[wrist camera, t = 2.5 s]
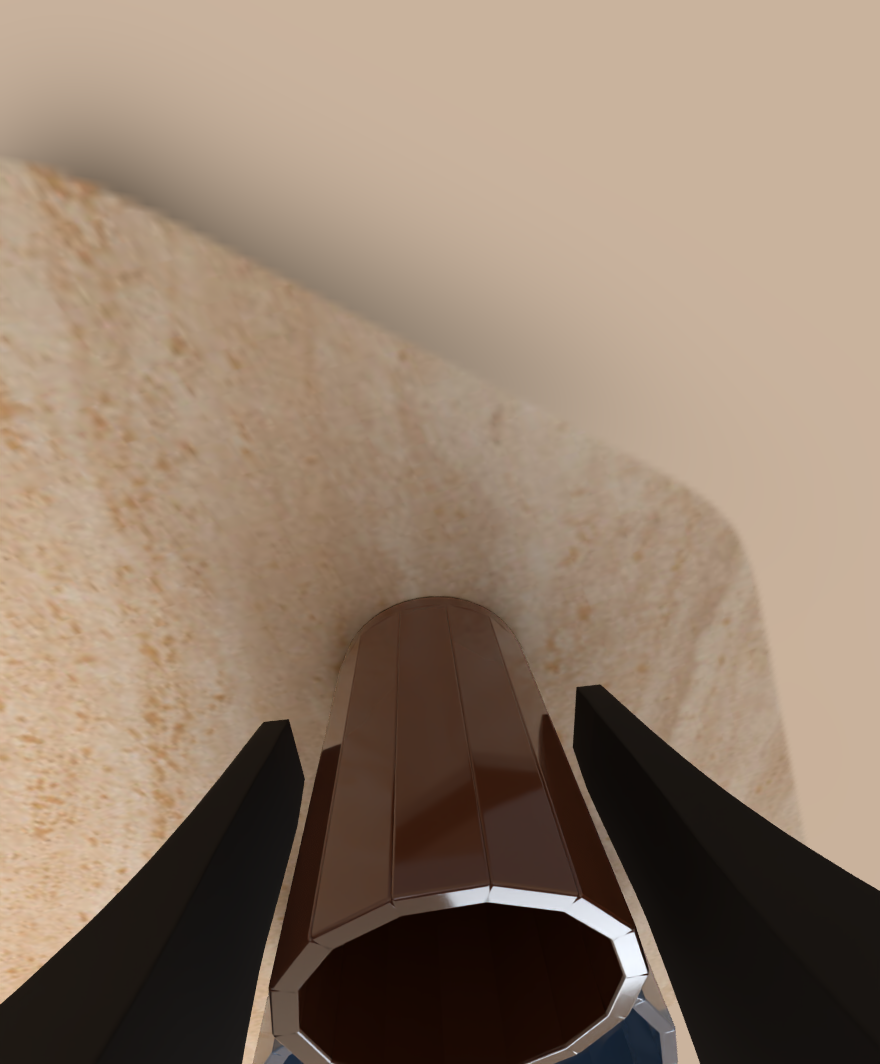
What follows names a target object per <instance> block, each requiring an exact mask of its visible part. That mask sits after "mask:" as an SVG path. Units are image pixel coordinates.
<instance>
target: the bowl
mask: <svg viewBox="0 0 880 1064" xmlns="http://www.w3.org/2000/svg"><path fill="white" fill-rule="evenodd" d="M643 951H644V950H643ZM644 954H645V952H644ZM645 957H646V955H645ZM646 960H647V957H646ZM647 963H648V966H649V975H648V977H647V979H646V981H645V983H644V985H643V987H642V989H641V991H640V993H639V995H638V997H637V999H636V1001H635V1003H634V1005H633V1007H632V1009H631V1011H630V1013H629V1015H628V1016H626V1018H625V1019H624V1020H622V1021H621V1022H620V1023H618V1024H617V1025H616V1026H615V1027H613V1028H612V1029H611V1030H609V1031H608V1032H607V1033H605V1034H604V1035H603V1036H601V1037H600V1038H599V1039H597V1040H596V1041H595V1042H594V1043H592V1044H591V1045H590V1046H588V1047H587V1048H586V1049H584V1050H583V1051H582V1052H580V1053H579V1052H578V1054H577V1055H575V1056H572V1057H570V1058H567V1059H565V1060H562V1061H559V1062H557V1063H554V1064H677V1062H678V1058H677V1044H676V1031H675V1026H674V1023H673V1021H672V1018H671V1016H670V1014H669V1011H668V1009H667V1006H666V1004H665V1001H664V999H663V996H662V994H661V991H660V989H659V987H658V984H657V982H656V979H655V977H654V974H653V972H652V969H651V967H650V964H649V962H648V960H647ZM268 995H269V993H268ZM253 1064H304V1063H302V1062H301V1061H300V1060H299V1059H298V1058H297V1057H296V1056H295V1055H293V1054H292V1053H291V1052H290V1051H289V1050H288V1049H287V1048H286V1047H284V1046H283V1045H282V1044H281V1043H280V1042H279V1041H278V1040H277V1039H275V1038H274V1035H273V1034H272V1025H271V1012H270V999H269V996H268V997H267V1002H266V1006H265V1011H264V1015H263V1020H262V1024H261V1029H260V1033H259V1038H258V1042H257V1047H256V1051H255V1056H254V1060H253Z"/></svg>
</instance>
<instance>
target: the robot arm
mask: <svg viewBox="0 0 880 1064" xmlns="http://www.w3.org/2000/svg"><path fill="white" fill-rule="evenodd" d="M573 749H574V752H575V755H576V758H577V761H578V764H579V767H580V770H581V773H582V776H583V779H584V781H585V784H586V787H587V790H588V792H589V794H590V796H591V799H592V801H593V803H594V805H595V807H596V810H597V812H598V814H599V816H600V818H601V820H602V823H603V825H604V827H605V829H606V831H607V833H608V835H609V837H610V840H611V842H612V844H613V846H614V848H615V850H616V852H617V854H618V857H619V859H620V861H621V863H622V865H623V867H624V869H625V872H626V874H627V876H628V878H629V880H630V882H631V884H632V886H633V889H634V891H635V893H636V895H637V897H638V900H639V902H640V904H641V907H642V909H643V911H644V914H645V916H646V918H647V921H648V923H649V926H650V929H651V931H652V934H653V936H654V939H655V942H656V944H657V947H658V950H659V952H660V955H661V958H662V960H663V963H664V965H665V968H666V971H667V973H668V976H669V979H670V981H671V984H672V987H673V990H674V992H675V995H676V998H677V1001H678V1003H679V1006H680V1009H681V1012H682V1014H683V1017H684V1020H685V1023H686V1025H687V1028H688V1031H689V1034H690V1036H691V1039H692V1042H693V1045H694V1047H695V1050H696V1053H697V1056H698V1059H699V1061H700V1064H880V891H879V890H877V889H876V888H874V887H872V886H871V885H869V884H867V883H865V882H864V881H862V880H860V879H859V878H857V877H855V876H853V875H852V874H850V873H849V872H847V871H845V870H844V869H842V868H841V867H839V866H837V865H836V864H834V863H832V862H831V861H829V860H828V859H826V858H824V857H823V856H821V855H820V854H818V853H816V852H815V851H813V850H812V849H810V848H808V847H807V846H805V845H804V844H802V843H800V842H799V841H797V840H796V839H794V838H793V837H791V836H790V835H788V834H787V833H785V832H784V831H782V830H781V829H779V828H778V827H776V826H775V825H773V824H772V823H771V822H769V821H768V820H766V819H765V818H763V817H762V816H760V815H759V814H758V813H756V812H755V811H753V810H752V809H750V808H749V807H747V806H746V805H745V804H743V803H742V802H740V801H739V800H738V799H736V798H735V797H734V796H732V795H731V794H729V793H728V792H727V791H725V790H724V789H723V788H721V787H720V786H719V785H718V784H716V783H715V782H714V781H712V780H711V779H710V778H709V777H707V776H706V775H705V774H703V773H702V772H701V771H699V770H698V769H697V768H696V767H695V766H693V765H692V764H691V763H690V762H688V761H687V760H686V759H685V758H683V757H682V756H681V755H680V754H679V753H678V752H676V751H675V750H674V749H673V748H672V747H670V746H669V745H668V744H667V743H666V742H664V741H663V740H662V739H661V738H660V737H659V736H657V735H656V734H655V733H654V732H653V731H652V730H651V729H649V728H648V727H647V726H646V725H645V724H644V723H643V722H641V721H640V720H639V719H638V718H637V717H636V716H635V715H634V714H633V713H631V712H630V711H629V710H628V709H627V708H626V707H625V706H624V705H623V704H621V703H620V702H619V701H618V700H617V699H616V698H615V697H614V696H613V695H612V694H610V693H609V692H608V691H607V690H606V689H605V688H604V687H603V686H601V685H591V686H583V687H577V689H576V705H575V721H574V737H573ZM304 780H305V778H304V774H303V771H302V767H301V763H300V759H299V756H298V752H297V748H296V744H295V741H294V737H293V733H292V729H291V726H290V722H289V719H287V720H278V721H269V722H263V724H262V725H261V726H260V727H259V728H258V730H257V731H256V732H255V733H254V735H253V736H252V737H251V738H250V740H249V741H248V742H247V744H246V745H245V746H244V747H243V749H242V750H241V751H240V753H239V754H238V755H237V756H236V758H235V759H234V760H233V762H232V763H231V764H230V765H229V767H228V768H227V769H226V770H225V772H224V773H223V774H222V776H221V777H220V778H219V779H218V780H217V782H216V783H215V784H214V785H213V787H212V788H211V789H210V790H209V792H208V793H207V794H206V795H205V796H204V798H203V799H202V800H201V801H200V803H199V804H198V805H197V806H196V807H195V809H194V810H193V811H192V812H191V813H190V815H189V816H188V817H187V818H186V819H185V820H184V822H183V823H182V824H181V825H180V826H179V827H178V828H177V830H176V831H175V832H174V833H173V834H172V835H171V836H170V838H169V839H168V840H167V841H166V842H165V843H164V844H163V845H162V847H161V848H160V849H159V850H158V851H157V852H156V853H155V855H154V856H153V857H152V858H151V859H150V860H149V861H148V862H147V863H146V864H145V865H144V867H143V868H142V869H141V870H140V871H139V872H138V873H137V874H136V875H135V876H134V877H133V878H132V879H131V880H130V881H129V883H128V884H127V885H126V886H125V887H124V888H123V889H122V890H121V891H120V892H119V893H118V894H117V895H116V896H115V897H114V898H113V899H112V900H111V901H110V902H109V903H108V904H107V905H106V906H105V907H104V908H103V909H102V910H101V911H100V912H99V913H98V914H97V915H96V916H95V917H94V918H93V919H92V920H91V921H90V922H89V923H88V924H87V925H86V926H85V927H84V928H83V929H82V930H81V931H80V932H79V933H77V934H76V935H75V936H74V937H73V938H72V939H71V940H70V941H69V942H68V943H67V944H66V945H65V946H64V947H63V948H61V949H60V950H59V951H58V952H57V953H56V954H55V955H54V956H53V957H52V958H51V959H50V960H49V961H48V962H47V963H45V964H44V965H43V966H42V967H41V968H40V969H39V970H38V971H37V972H36V973H35V974H34V975H33V976H32V977H31V978H29V979H28V980H27V981H26V982H25V983H24V984H23V985H22V986H21V987H20V988H18V989H17V990H16V991H15V992H14V993H13V994H12V995H11V996H9V997H8V998H7V999H6V1000H5V1001H4V1002H3V1003H1V1004H0V1064H242V1060H243V1054H244V1049H245V1043H246V1037H247V1032H248V1027H249V1022H250V1017H251V1011H252V1006H253V1001H254V996H255V990H256V985H257V980H258V975H259V970H260V966H261V962H262V958H263V953H264V949H265V945H266V941H267V937H268V934H269V930H270V926H271V923H272V919H273V915H274V912H275V908H276V904H277V900H278V897H279V893H280V889H281V886H282V882H283V878H284V875H285V871H286V867H287V863H288V860H289V856H290V852H291V848H292V844H293V841H294V837H295V833H296V829H297V825H298V819H299V813H300V807H301V801H302V794H303V787H304Z"/></svg>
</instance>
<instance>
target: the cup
mask: <svg viewBox="0 0 880 1064" xmlns="http://www.w3.org/2000/svg"><path fill="white" fill-rule="evenodd" d="M648 975H649V966H648V963H647V960H646V957H645V954H644V951H643V947H642V944H641V941H640V938H639V935H638V932H637V929H636V926H635V923H634V921H633V918H632V916H631V914H630V911H629V909H628V906H627V904H626V901H625V899H624V896H623V894H622V892H621V889H620V887H619V884H618V882H617V879H616V877H615V875H614V872H613V870H612V867H611V865H610V862H609V860H608V857H607V855H606V853H605V850H604V848H603V845H602V843H601V840H600V838H599V836H598V833H597V831H596V828H595V826H594V823H593V821H592V819H591V816H590V814H589V811H588V809H587V806H586V804H585V801H584V799H583V797H582V794H581V792H580V789H579V787H578V784H577V782H576V780H575V777H574V775H573V772H572V770H571V767H570V765H569V762H568V760H567V758H566V755H565V753H564V750H563V748H562V745H561V743H560V741H559V738H558V736H557V733H556V731H555V728H554V726H553V723H552V721H551V719H550V716H549V714H548V711H547V709H546V706H545V704H544V702H543V699H542V697H541V694H540V692H539V689H538V687H537V684H536V682H535V680H534V677H533V675H532V672H531V670H530V667H529V665H528V663H527V660H526V658H525V655H524V653H523V650H522V648H521V646H520V643H519V642H518V640H517V639H516V637H515V635H514V633H513V632H512V631H511V629H510V628H509V627H508V626H507V624H505V623H504V622H503V621H502V620H501V619H500V618H499V617H498V616H496V615H495V614H494V613H492V612H491V611H489V610H487V609H485V608H483V607H482V606H480V605H477V604H474V603H472V602H469V601H465V600H461V599H457V598H449V597H427V598H418V599H414V600H410V601H406V602H403V603H400V604H397V605H395V606H393V607H391V608H389V609H387V610H385V611H383V612H381V613H380V614H378V615H377V616H375V617H374V618H372V619H371V620H370V621H369V622H368V623H367V624H366V625H364V626H363V628H362V629H361V630H360V631H359V632H358V633H357V634H356V636H355V637H354V639H353V641H352V642H351V644H350V646H349V648H348V650H347V652H346V655H345V659H344V662H343V663H342V665H341V668H340V671H339V676H338V680H337V685H336V689H335V693H334V698H333V702H332V707H331V711H330V716H329V720H328V725H327V729H326V734H325V738H324V743H323V747H322V751H321V756H320V760H319V765H318V769H317V774H316V778H315V783H314V787H313V792H312V796H311V801H310V805H309V809H308V814H307V818H306V823H305V827H304V832H303V836H302V841H301V845H300V850H299V854H298V859H297V863H296V867H295V872H294V876H293V881H292V885H291V890H290V894H289V899H288V903H287V908H286V912H285V917H284V921H283V925H282V930H281V934H280V939H279V943H278V948H277V952H276V957H275V961H274V966H273V970H272V975H271V979H270V983H269V999H270V1012H271V1025H272V1034H273V1035H274V1038H275V1039H277V1040H278V1041H279V1042H280V1043H281V1044H282V1045H283V1046H284V1047H286V1048H287V1049H288V1050H289V1051H290V1052H291V1053H292V1054H293V1055H295V1056H296V1057H297V1058H298V1059H299V1060H300V1061H301V1062H302V1063H304V1064H554V1063H557V1062H559V1061H562V1060H565V1059H567V1058H570V1057H572V1056H575V1055H577V1054H578V1052H579V1053H580V1052H582V1051H583V1050H584V1049H586V1048H587V1047H588V1046H590V1045H591V1044H592V1043H594V1042H595V1041H596V1040H597V1039H599V1038H600V1037H601V1036H603V1035H604V1034H605V1033H607V1032H608V1031H609V1030H611V1029H612V1028H613V1027H615V1026H616V1025H617V1024H618V1023H620V1022H621V1021H622V1020H624V1019H625V1018H626V1016H628V1015H629V1013H630V1011H631V1009H632V1007H633V1005H634V1003H635V1001H636V999H637V997H638V995H639V993H640V991H641V989H642V987H643V985H644V983H645V981H646V979H647V977H648Z"/></svg>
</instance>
